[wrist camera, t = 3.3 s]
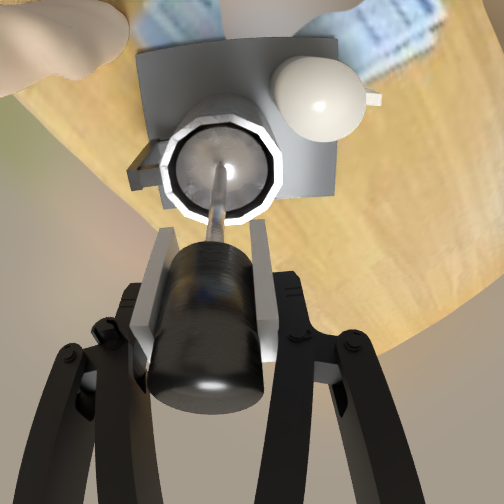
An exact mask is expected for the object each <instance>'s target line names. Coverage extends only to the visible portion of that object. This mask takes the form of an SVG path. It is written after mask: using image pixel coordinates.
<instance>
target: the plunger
mask: <svg viewBox="0 0 504 504" xmlns="http://www.w3.org/2000/svg"><path fill="white" fill-rule="evenodd" d="M267 170H268V167H267V161H266V157H265V153H264V151H263V149H262V147H261V145H260V144H259V143H258V141H257V140H256V139H255V138H254V137H253V136H252V135H250V134H249V133H248V132H246V131H244V130H242V129H240V128H237V127H233V126H228V125H216V126H211V127H207V128H204V129H202V130H200V131H198V132H197V133H195V134H194V135H193V136H191V137H190V138H189V139H188V140H187V141H186V143H185V144H184V146H183V147H182V149H181V151H180V153H179V156H178V159H177V164H176V176H177V180H178V183H179V185H180V187H181V189H182V191H183V192H184V194H185V195H186V196H187V197H188V198H189V199H190V200H191V201H193V202H194V203H195V204H197V205H199V206H201V207H203V208H206V209H209V217H208V225H207V232H206V240H205V241H203V242H198V243H194V244H191V245H189V246H187V247H185V248H183V249H182V250H181V251H179V252H178V253H177V254H176V255H175V257H174V258H173V260H172V262H171V265H170V269H169V273H168V277H167V282H166V286H165V290H164V295H163V299H162V304H161V309H160V313H159V318H158V323H157V328H156V333H155V338H154V343H153V348H152V354H151V359H150V365H149V371H148V376H147V388H148V390H149V392H150V393H151V394H152V395H153V396H154V397H155V398H156V399H158V400H159V401H160V402H162V403H164V404H166V405H168V406H170V407H173V408H175V409H178V410H181V411H186V412H191V413H196V414H208V415H212V414H213V415H215V414H228V413H233V412H237V411H241V410H244V409H247V408H249V407H251V406H253V405H254V404H256V403H257V402H258V401H259V400H260V399H261V398H262V396H263V394H264V382H263V370H262V357H261V345H260V339H259V337H258V328H257V316H256V302H255V289H254V275H253V264H252V263H251V261H250V259H249V258H248V257H247V256H246V255H245V254H244V253H243V252H242V251H241V250H239V249H237V248H236V247H234V246H232V245H229V244H226V243H224V231H225V211H230V210H235V209H238V208H241V207H243V206H245V205H247V204H248V203H250V202H251V201H252V200H254V199H255V198H256V197H257V196H258V194H259V193H260V192H261V190H262V189H263V187H264V185H265V182H266V179H267Z"/></svg>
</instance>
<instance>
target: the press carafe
mask: <svg viewBox="0 0 504 504" xmlns="http://www.w3.org/2000/svg"><path fill="white" fill-rule="evenodd" d="M216 125H228V126H233V127H237V128H240V129H242V130H244V131H246V132H248V133H249V134H250V135H252V136H253V137H254V138H255V139H256V140H257V141H258V143H259V144H260V145H261V147H262V149H263V151H264V153H265V157H266V161H267V167H268V170H267V179H266V182H265V185H264V187H263V189H262V190H261V192H260V193H259V194H258V196H257V197H256V198H255V199H254V200H252V201H251V202H250V203H248V204H247V205H245V206H243V207H241V208H238V209H235V210H230V211H225V225H236V224H243V223H245V222H246V221H248V220H250V219H251V218H253V217H255V216H257V215H258V214H260V213H262V212H263V211H265V210H267V209H268V207H269V206H270V204H271V202H272V201H273V199H274V197H275V196H276V194H277V192H278V191H279V189H280V187H281V185H282V154H281V151H280V149H279V146H278V144H277V142H276V139H275V137H274V134H273V132H272V129H271V127H270V125H269V122H268V120H267V119H266V117H265V116H264V114H263V113H262V111H261V110H260V109H259V107H258V106H257V104H256V103H255V102H254V101H252V100H249V99H247V98H245V97H243V96H240V95H238V94H236V93H224V94H214V95H209V96H208V97H206V98H205V99H203V100H202V101H201V102H199V103H198V104H196V105H195V106H194V107H192V108H191V109H190V111H189V112H188V113H187V115H186V116H185V118H184V119H183V120H182V122H181V123H180V125H179V126H178V127H177V129H176V130H175V132H174V133H173V135H172V136H171V137H170V138H169V139H162V140H160V138H158V139H152V140H150V142H149V143H148V144H147V145H146V146H145V148H144V149H143V150H142V151H141V153H140V154H139V155H138V156H137V157H136V159H135V160H134V161H133V163H132V164H131V165H130V166H129V168H128V169H127V170H126V171H127V175H128V179H129V183H130V187H131V191H136V190H142V189H143V187H150V186H157V185H164V190H165V195H166V196H167V197H168V198H169V199H170V200H171V201H172V202H173V203H174V205H175V206H176V207H177V208H178V209H179V210H180V211H181V212H182V213H183V214H184V216H186V217H189V218H191V219H194V220H197V221H199V222H202V223H205V224H207V225H208V217H209V209H206V208H203V207H201V206H199V205H197V204H195V203H194V202H193V201H191V200H190V199H189V198H188V197H187V196H186V195H185V194H184V192H183V191H182V189H181V187H180V185H179V183H178V180H177V176H176V164H177V159H178V156H179V153H180V151H181V149H182V147H183V146H184V144H185V143H186V141H187V140H188V139H189V138H190V137H191V136H193V135H194V134H195V133H197V132H198V131H200V130H202V129H204V128H207V127H211V126H216ZM162 156H163V158H162V161H161V163H160V164H157V163H158V162H159V160H160V159H161V157H162Z"/></svg>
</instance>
